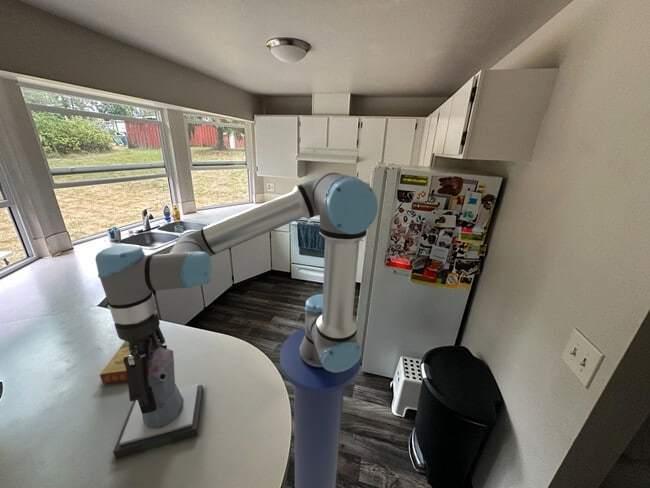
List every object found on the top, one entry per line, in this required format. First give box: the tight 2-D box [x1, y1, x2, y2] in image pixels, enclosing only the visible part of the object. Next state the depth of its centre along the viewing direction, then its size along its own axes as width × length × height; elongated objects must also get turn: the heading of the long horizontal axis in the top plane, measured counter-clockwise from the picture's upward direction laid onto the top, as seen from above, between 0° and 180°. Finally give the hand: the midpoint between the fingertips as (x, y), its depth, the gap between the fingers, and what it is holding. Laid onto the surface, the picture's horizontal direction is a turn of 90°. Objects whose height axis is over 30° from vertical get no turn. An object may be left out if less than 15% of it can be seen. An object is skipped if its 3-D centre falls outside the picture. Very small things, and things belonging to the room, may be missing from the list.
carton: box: [99, 341, 130, 385], centre depth 82 cm, size 8×16×4 cm, turn 12°
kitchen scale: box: [112, 384, 204, 460], centre depth 65 cm, size 17×13×3 cm
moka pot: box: [140, 347, 184, 428], centre depth 61 cm, size 10×15×20 cm, turn 58°
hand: (156, 390), depth 61 cm, fingers closed on moka pot, 10 cm apart
